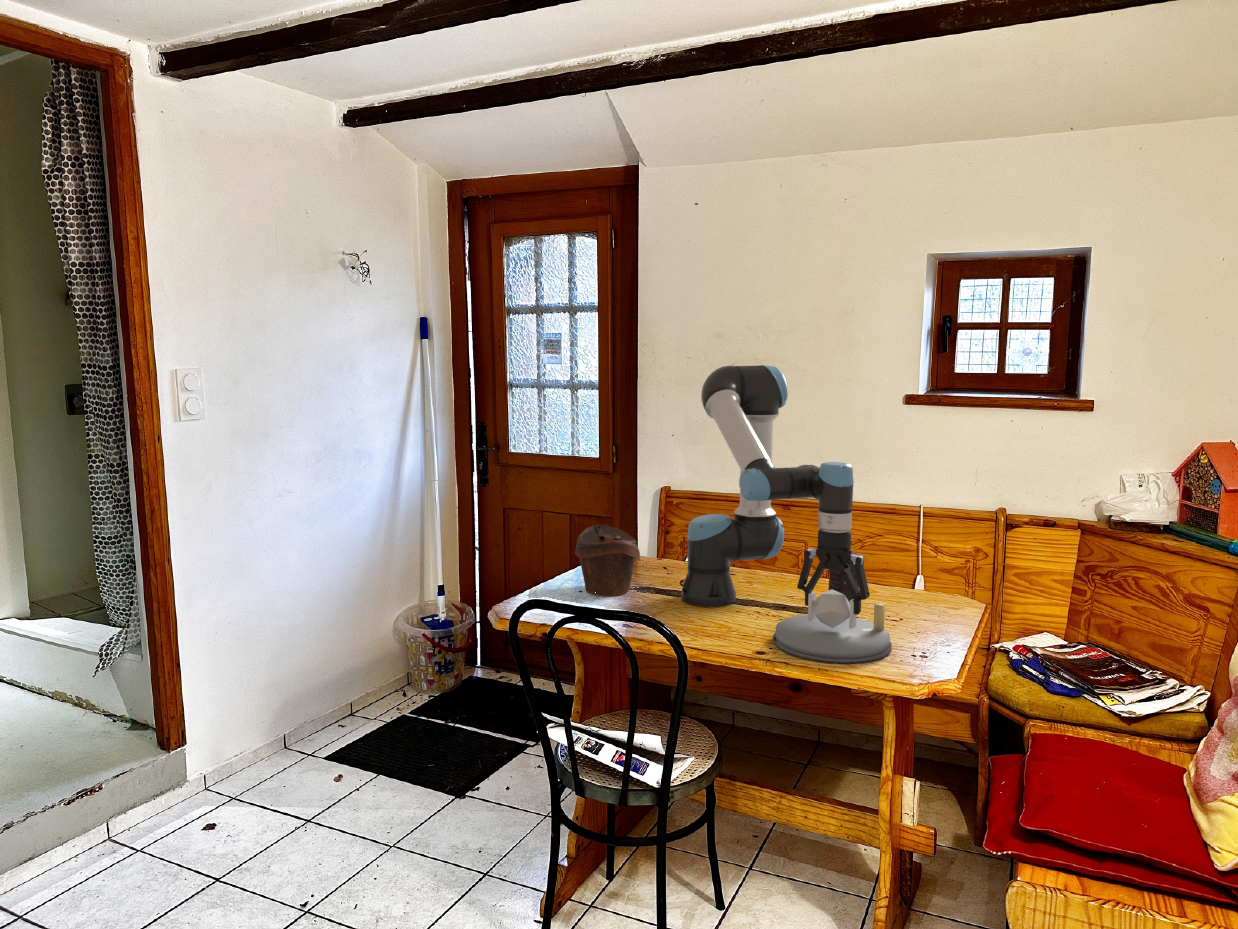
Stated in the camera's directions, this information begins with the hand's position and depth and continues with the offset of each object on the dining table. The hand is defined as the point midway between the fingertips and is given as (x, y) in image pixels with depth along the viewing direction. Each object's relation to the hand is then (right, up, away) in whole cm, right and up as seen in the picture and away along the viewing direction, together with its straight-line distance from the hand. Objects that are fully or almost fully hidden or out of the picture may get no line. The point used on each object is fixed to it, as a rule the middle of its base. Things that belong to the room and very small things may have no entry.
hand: (831, 623), depth 200 cm
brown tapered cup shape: (-53, 0, +46) cm, 70 cm away
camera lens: (+10, -2, +29) cm, 31 cm away
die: (0, 0, 0) cm, 0 cm away
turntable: (0, -4, 0) cm, 4 cm away
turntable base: (0, -5, +1) cm, 5 cm away
